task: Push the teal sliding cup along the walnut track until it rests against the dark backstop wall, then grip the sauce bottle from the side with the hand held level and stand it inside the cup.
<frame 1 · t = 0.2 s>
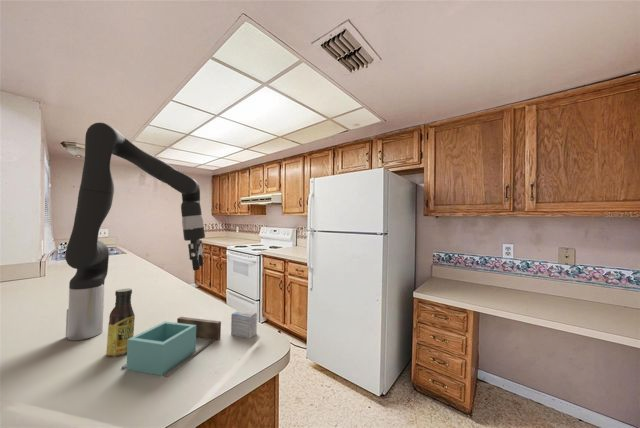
hand: (198, 267, 99), 22 cm above the countertop, tool pointing down, fingers open, 8 cm apart
medicine box: (243, 338, 89), on the countertop
track board: (175, 355, 76), on the countertop
sauce bottle: (120, 356, 76), on the countertop
holder: (163, 345, 72), point 5 cm above the countertop, slide at 7.5 cm
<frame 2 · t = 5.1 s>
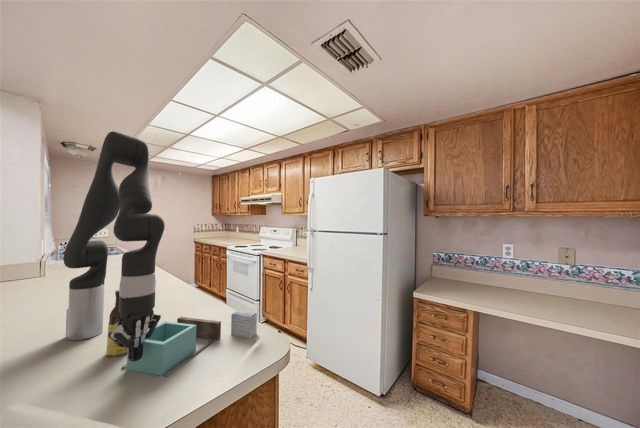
hand: (135, 359, 64), 6 cm above the countertop, tool pointing down, fingers closed
holder: (163, 345, 72), point 5 cm above the countertop, slide at 7.4 cm, touching gripper
everything else where it was.
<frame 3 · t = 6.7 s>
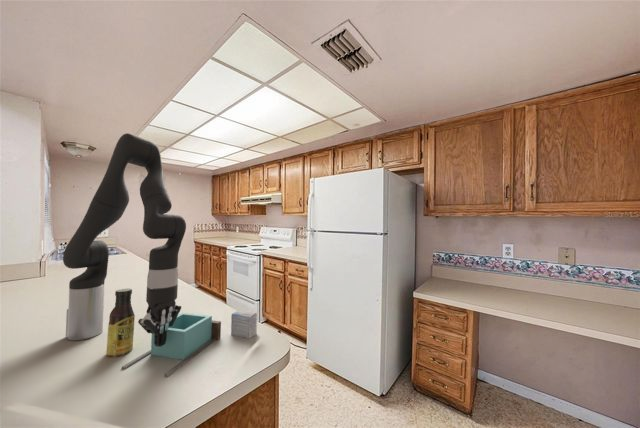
hand: (160, 345, 71), 6 cm above the countertop, tool pointing down, fingers closed
holder: (183, 334, 80), point 5 cm above the countertop, slide at -0.1 cm, touching gripper
everything else where it was.
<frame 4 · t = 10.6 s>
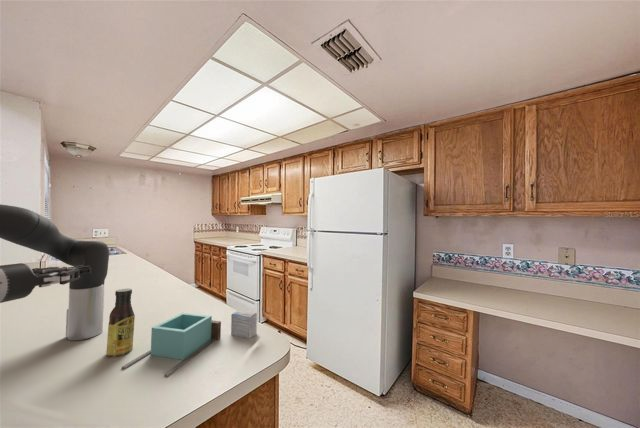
hand: (87, 269, 67), 28 cm above the countertop, tool horizontal, fingers closed
holder: (183, 334, 79), point 5 cm above the countertop, slide at 0.0 cm
everything else where it was.
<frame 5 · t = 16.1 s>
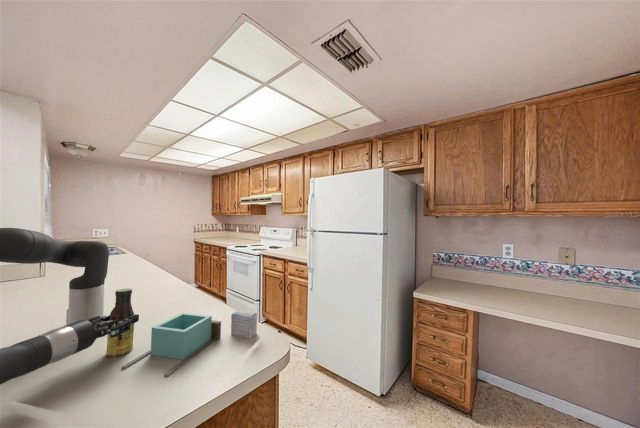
hand: (128, 316, 78), 11 cm above the countertop, tool horizontal, fingers closed on sauce bottle, 6 cm apart
sauce bottle: (120, 356, 76), on the countertop, touching gripper
everything else where it was.
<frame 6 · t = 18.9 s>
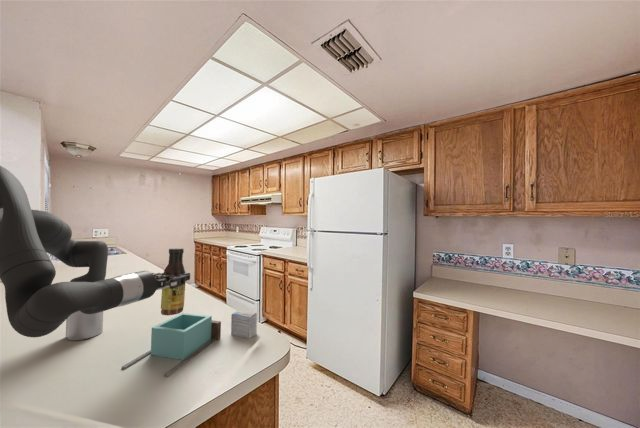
hand: (180, 275, 80), 24 cm above the countertop, tool horizontal, fingers closed on sauce bottle, 6 cm apart
sauce bottle: (172, 313, 78), point 13 cm above the countertop, touching gripper
everything else where it was.
when the fingers open (15 cm above the countertop, at t = 21.9 s): sauce bottle drops 1 cm, resting on holder.
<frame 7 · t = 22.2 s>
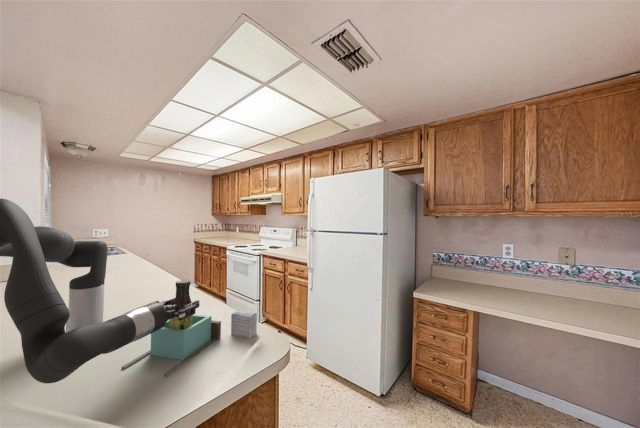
hand: (186, 302, 81), 15 cm above the countertop, tool horizontal, fingers open, 8 cm apart
sauce bottle: (180, 345, 78), point 2 cm above the countertop, touching holder
holder: (182, 334, 79), point 5 cm above the countertop, slide at 0.1 cm, touching sauce bottle
everything else where it was.
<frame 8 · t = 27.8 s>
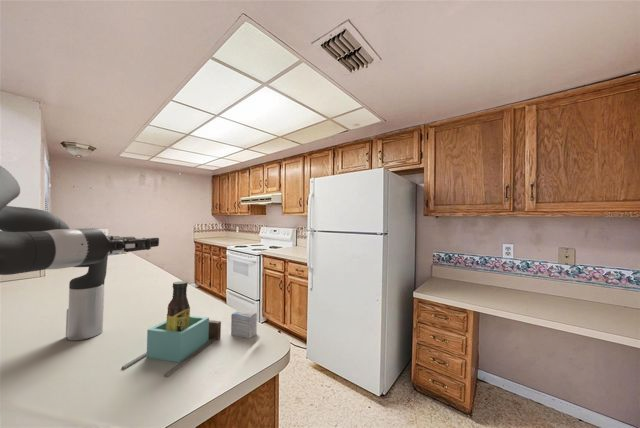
hand: (144, 241, 65), 36 cm above the countertop, tool horizontal, fingers open, 8 cm apart
sauce bottle: (177, 348, 77), point 2 cm above the countertop, touching holder
holder: (179, 336, 78), point 5 cm above the countertop, slide at 1.4 cm, touching sauce bottle
everything else where it was.
at the end: holder slide at 1.4 cm; sauce bottle inside the target area (1.4 cm from its centre), point 2.1 cm above the countertop; sauce bottle tilted 0° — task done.
